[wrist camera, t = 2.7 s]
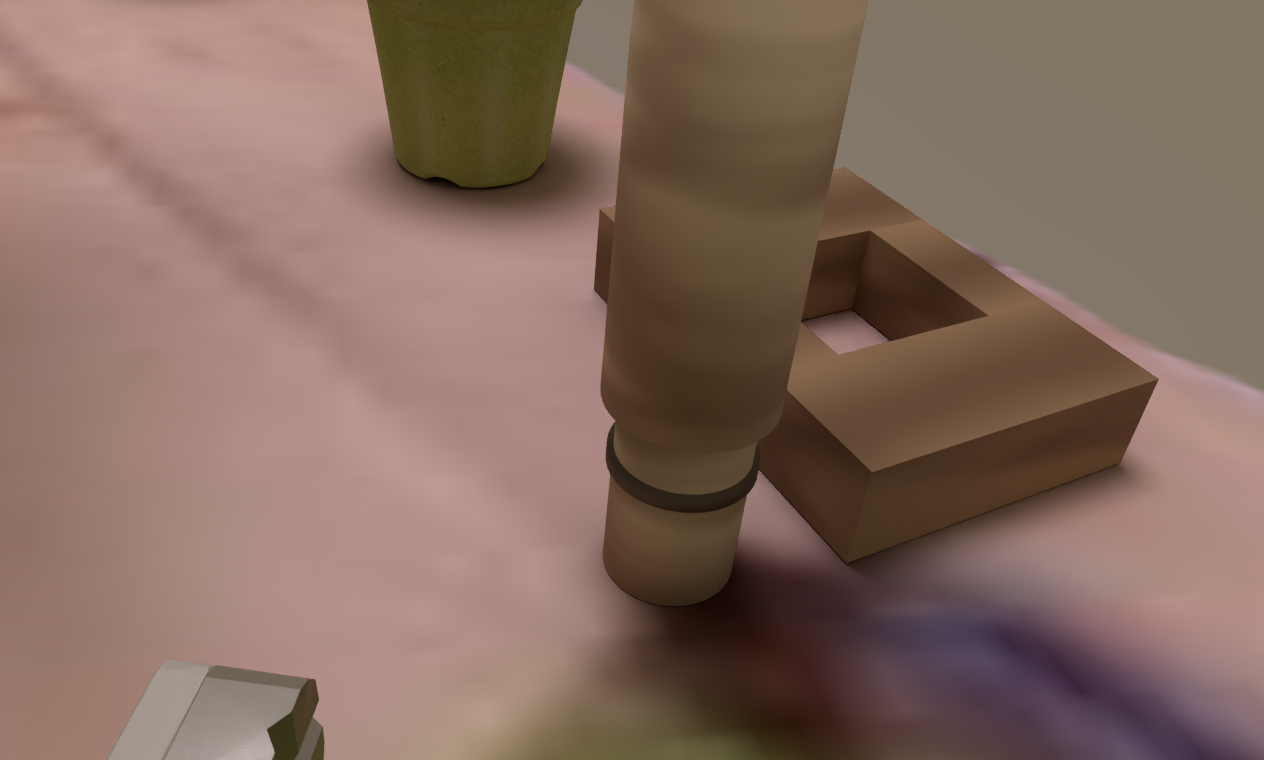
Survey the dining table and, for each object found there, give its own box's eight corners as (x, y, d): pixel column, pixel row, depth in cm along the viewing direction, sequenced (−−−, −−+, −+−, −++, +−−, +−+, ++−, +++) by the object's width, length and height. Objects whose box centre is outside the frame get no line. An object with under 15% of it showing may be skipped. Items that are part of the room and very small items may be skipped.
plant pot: (522, 101, 49) (527, -101, 44) (630, 186, 43) (650, -37, 38) (322, 130, 45) (302, -90, 40) (410, 230, 39) (400, -17, 34)
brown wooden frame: (593, 288, 36) (599, 208, 35) (829, 240, 41) (845, 167, 39) (845, 563, 27) (872, 471, 25) (1120, 462, 31) (1158, 378, 29)
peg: (559, 527, 27) (604, -182, 18) (695, 485, 29) (801, -182, 19) (635, 641, 24) (735, -129, 15) (780, 588, 26) (951, -133, 17)
